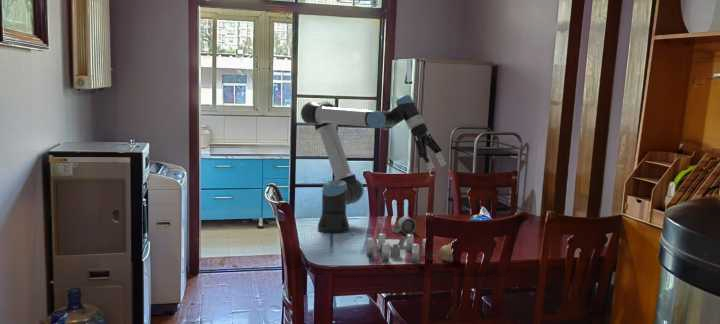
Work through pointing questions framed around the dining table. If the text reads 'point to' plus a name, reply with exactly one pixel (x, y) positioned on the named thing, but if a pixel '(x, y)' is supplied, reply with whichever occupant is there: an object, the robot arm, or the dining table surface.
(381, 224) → the dining table surface
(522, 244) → the dining table surface
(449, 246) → the onion
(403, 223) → the ceramic mug
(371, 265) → the dining table surface
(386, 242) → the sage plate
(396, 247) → the lighter
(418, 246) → the spacer posts
